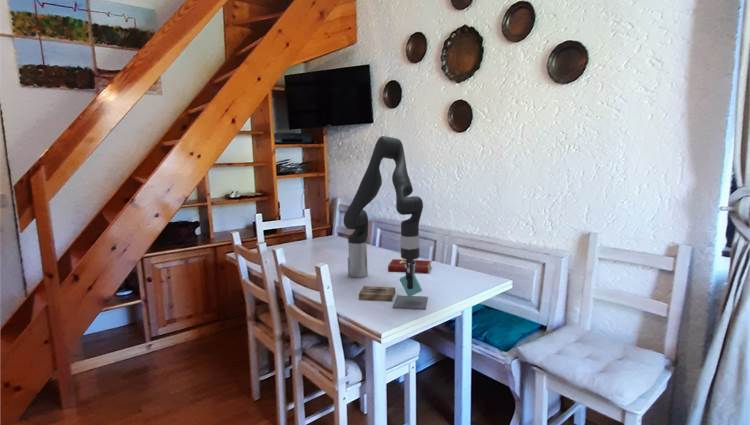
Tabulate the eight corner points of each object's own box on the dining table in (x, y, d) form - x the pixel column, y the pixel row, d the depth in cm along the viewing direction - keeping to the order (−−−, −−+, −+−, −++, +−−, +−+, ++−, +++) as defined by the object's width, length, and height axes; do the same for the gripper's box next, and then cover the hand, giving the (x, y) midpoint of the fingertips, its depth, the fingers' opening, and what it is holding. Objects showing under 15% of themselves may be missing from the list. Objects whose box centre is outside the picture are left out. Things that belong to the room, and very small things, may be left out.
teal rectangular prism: (408, 296, 168) (399, 279, 167) (409, 294, 170) (400, 277, 170) (421, 291, 166) (412, 273, 166) (422, 289, 169) (413, 271, 168)
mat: (392, 308, 164) (392, 306, 164) (397, 296, 177) (397, 295, 177) (425, 309, 162) (425, 308, 161) (427, 297, 174) (427, 296, 174)
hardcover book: (428, 274, 208) (428, 266, 207) (387, 272, 213) (387, 264, 212) (431, 267, 219) (431, 260, 218) (392, 266, 224) (392, 258, 224)
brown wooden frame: (358, 299, 174) (358, 292, 174) (364, 291, 184) (363, 284, 184) (391, 301, 172) (391, 293, 171) (395, 292, 181) (395, 286, 181)
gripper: (402, 242, 173) (403, 281, 176) (398, 250, 159) (399, 293, 162) (420, 242, 171) (421, 282, 174) (417, 250, 158) (418, 293, 161)
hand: (410, 287), depth 168 cm, fingers closed on teal rectangular prism, 2 cm apart
